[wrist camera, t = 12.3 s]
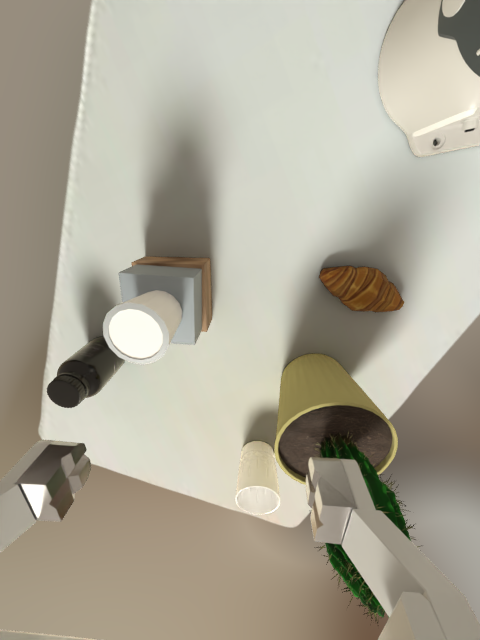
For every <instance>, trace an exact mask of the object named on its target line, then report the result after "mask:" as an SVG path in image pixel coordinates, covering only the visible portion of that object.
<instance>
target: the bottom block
mask: <svg viewBox="0 0 480 640" xmlns="http://www.w3.org/2000/svg"><path fill="white" fill-rule="evenodd" d="M136 264H139V265H153V266H168V267H183V268H198V269H202V330H201V331H204V332H207V330H208V328H209V325H210V323H211V320H212V301H211V266H210V258H183V257H146V256H145V257H143V258H141V259H139V260H136V261H134V262H132V266H134V265H136Z"/></svg>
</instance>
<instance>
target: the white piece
mask: <svg viewBox="0 0 480 640" xmlns="http://www.w3.org/2000/svg"><path fill="white" fill-rule="evenodd" d="M181 320H182V309H181V307H180V304H179V302H178V301H177V300H176V299H175V298H174V296H172V295H171V294H169V293H167V292H165V291H159V290H155V291H151V292H147V293H145V294H142V295H140V296H138V297H135V298H133V299H130V300H128V301H126V302H123V303H121V304H118V305H116V306H115V307H114V308H113V309H111V310H110V311H109V312H108V313H107V314H106V317H105V319H104V322H103V336H104V338H105V340H106V342H107V344H108V346H109V348H110V349H111V350H112V351H113V352H114V353H115V354H116V355H117V356H118V357H120V358H122V359H124V360H126V361H128V362H130V363H135V364H142V365H144V364H149V363H153V362H156V361H157V360H158V359H160V358H161V357H163V356H164V354H165V352H166V350H167V348H168V346H169V344H170V342H171V340H172V338H173V336H174V334H175V332H176V330H177V328H178V326H179V324H180V322H181Z"/></svg>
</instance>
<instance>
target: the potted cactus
mask: <svg viewBox="0 0 480 640" xmlns="http://www.w3.org/2000/svg"><path fill="white" fill-rule="evenodd" d="M397 441H398V439H397V435H396V431H395V429H394V427H393V426H392V424H391V422H390V421H389V420H388V419H387V418H386V417H385V415H384V414H383V413H382V412H381V411H380V409H379V408H378V407H377V406H376V405H375V404H374V403H373V402H372V400H371V399H370V398H369V397H368V396H367V395H366V394H365V392H364V391H363V390H362V389H361V388H360V387H359V385H358V384H357V383H356V382H355V381H354V380H353V379H352V377H351V376H350V375H349V374H348V373H347V372H346V370H345V369H344V368H343V367H342V366H341V365H340V364H339V363H338V362H337V361H336V360H335V359H333V358H331V357H329V356H327V355H323V354H306V355H303V356H300V357H298V358H296V359H294V360H293V361H292V362H290V363H289V364H288V365H287V367H286V368H285V370H284V371H283V374H282V378H281V386H280V398H279V409H278V420H277V430H276V440H275V448H274V452H275V457H276V460H277V462H278V464H279V466H280V467H281V469H282V470H283V471H284V472H285V473H286V474H287V475H288V476H290V477H291V478H292V479H294V480H296V481H298V482H300V483H302V484H305V485H306V475H307V473H308V472H309V465H308V463H309V459H310V457H318V458H338V459H349V460H355V461H356V462H357V464H358V466H359V469H360V471H361V474H362V476H363V479H364V481H365V484H366V486H367V489H368V491H369V494H370V496H371V499H372V501H373V504H374V506H375V509H376V510H379V511H382V512H383V513H384V514H385V515H386V516H387V517H388V518H389V519H390V520H391V521H392V523H393V524H394V525H395V526H396V527H397V528H398V529H399V530H400V531H401V532H402V533H403V534H404V535H405V536H406V537H407V538H408V539H409V540H410V537H409V533H408V531H407V530H408V528H409V527H410V526H409V527H408V528H406V524H405V520H404V518H403V515H402V513H401V511H400V507H399V504H400V503H401V502H399V501H397V500H396V498H395V493H394V492H393V491H391V490H390V489H389V488H388V487H387V485H386V484H384V483H385V482H381V481H380V480H379V477H378V475H379V474H380V473H381V472H383V471H384V470H385V469H386V468H387V467H388V466H389V464H390V463H391V461H392V460H393V458H394V456H395V454H396V451H397V444H398V442H397ZM388 481H389V480H388ZM387 483H388V482H387ZM390 484H392V482H391V483H390ZM390 484H389V485H390ZM392 485H393V484H392ZM392 485H391V486H392ZM396 501H397V502H399V503H397V502H396ZM401 504H402V503H401ZM309 511H310V510H309ZM413 526H414V525H413ZM410 528H412V526H411V527H410ZM410 528H409V529H410ZM410 541H411V540H410ZM325 544H326V547H327V552H328V554H329V560H330V562H331V564H332V566H333V568H334V569H335V570H337V571H338V574H340V576H342V578H343V580H344V582H345V583H346V584H347V586H348V587H347V588H344V589H348V588H349V589H350V590H348V591H352V592H353V594H354V596H355V597H358V598H360V599H361V602H362V603H363V604H364V605H361V606H364V607H368V609H370V610H369V612H368V614H369V613H370V614H371V612H374V613H373V614H374V615H375V616H376V613H378V614H379V616H382V617H384V612H385V610H384V608H383V607H382V606H381V604H380V603H379V601H378V600H377V598H376V597H375V595H374V594H373V592H372V591H371V589H370V588H369V586H368V585H367V583H366V582H365V580H364V579H363V577H362V576H361V574H360V573H359V571H358V570H357V568H356V567H355V565H354V564H353V562H352V561H351V559H350V558H349V556H348V555H347V553H346V552H345V550H344V549H343V548H342V544H333V543H325ZM322 548H324V546H322V547H321V549H322ZM326 557H327V556H326ZM327 563H328V562H327ZM338 574H337V575H338ZM337 575H336V576H337ZM334 577H335V576H334ZM339 578H340V577H339ZM339 582H340V579H339ZM351 600H352V599H351ZM350 602H351V601H350ZM359 606H360V605H359ZM370 611H371V612H370ZM371 616H372V614H371ZM388 617H389V616H388ZM371 618H372V617H371ZM376 620H377V618H376ZM377 623H378V622H377Z"/></svg>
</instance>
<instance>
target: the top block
mask: <svg viewBox="0 0 480 640" xmlns="http://www.w3.org/2000/svg"><path fill="white" fill-rule="evenodd" d="M119 280H120V287H121V295H122V302H126V301H128V300H130V299H133V298H135V297H138V296H140V295H142V294H145V293H147V292H151V291H155V290H159V291H165V292H167V293H169V294H171V295H172V296H174V298H175V299H176V300H177V301H178V302H179V304H180V307H181V309H182V320H181V322H180V324H179V326H178V328H177V330H176V332H175V334H174V336H173V338H172V340H171V342H170V343H175V344H188V345H195V343H196V341H197V339H198V337H199V335H200V332H201V330H202V269H198V268H183V267H168V266H153V265H139V264H136V265H134V266H132V267H130V268H128V269H126V270H123V271H121V272H119Z"/></svg>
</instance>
